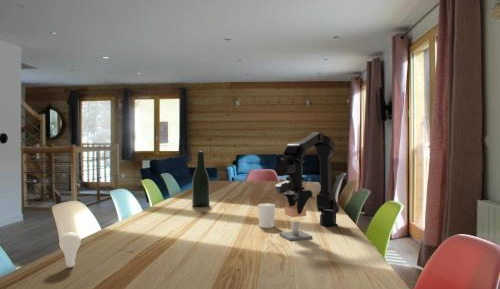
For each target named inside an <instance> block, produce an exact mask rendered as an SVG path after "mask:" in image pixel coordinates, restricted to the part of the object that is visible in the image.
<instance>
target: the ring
mask: <svg viewBox="0 0 500 289" xmlns="http://www.w3.org/2000/svg"><path fill="white" fill-rule="evenodd" d="M284 214H285V215H286V216H289V217H291V218H297V217H307V207H305V206H304V208H303V210H302V212H301V214H298V212H297V205H295V206H289V205H287V206H284Z"/></svg>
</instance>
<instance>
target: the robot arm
mask: <svg viewBox="0 0 500 289" xmlns="http://www.w3.org/2000/svg"><path fill="white" fill-rule="evenodd" d="M312 147H314V148H315V154H317V156H318V158H319V174H320V179H319V182H320V190H319V192H318V193H317V194H316V195H315V196H316V208H317V212H320V215H319V223H318V224H319V225H321V226H323V227H336V226H337V227H338V226H339V224H338V223H337V214H338V213H339V212H340V205H339V204H338V202H337V200H336V194H335V193H334V192H333V189H332V162H331V161H332V157H333V155H335V148H336V143H335V141H334V140H333V139H332V138H331V137H329V136H327V135H325V134H324V133H323V132H320V131H319V132H318V131H317V132H316V131H315V132H314V131H313V132H311V133H310V134H309V135H307V136H306V137H304V138H302V139H301V140H299V141H296V142H290V143H288V144H287V145H286V147H285V148H284V151H283V153H282V156H281V158H279V161H278V162H277V163H276V165H275V167H274V170H275V171H274V172H275V173H276V175H278V176H279V177H286V178H285V180H284V181H282V182H281V181H280V182H279V183H277V184H274V188H275V191H276V193H277V194H280V195H281V194H282V196H284V197H285V198H286V200H287V203H288V206H297V212H298V214H301V212H302V210H303V208H304V207H305V206H306V205H307V202H308V201H309V199H310V198H313V194H314V193H313V191H312V190H311V189H306V188H305V187H304V185H303V183H304V182H303V180H304V181H305V176H303V164H304V163H305V162H306V160H304V159H303V158H304V157H305V156H306V154H307V151H308V150H309V149H311V148H312Z"/></svg>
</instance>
